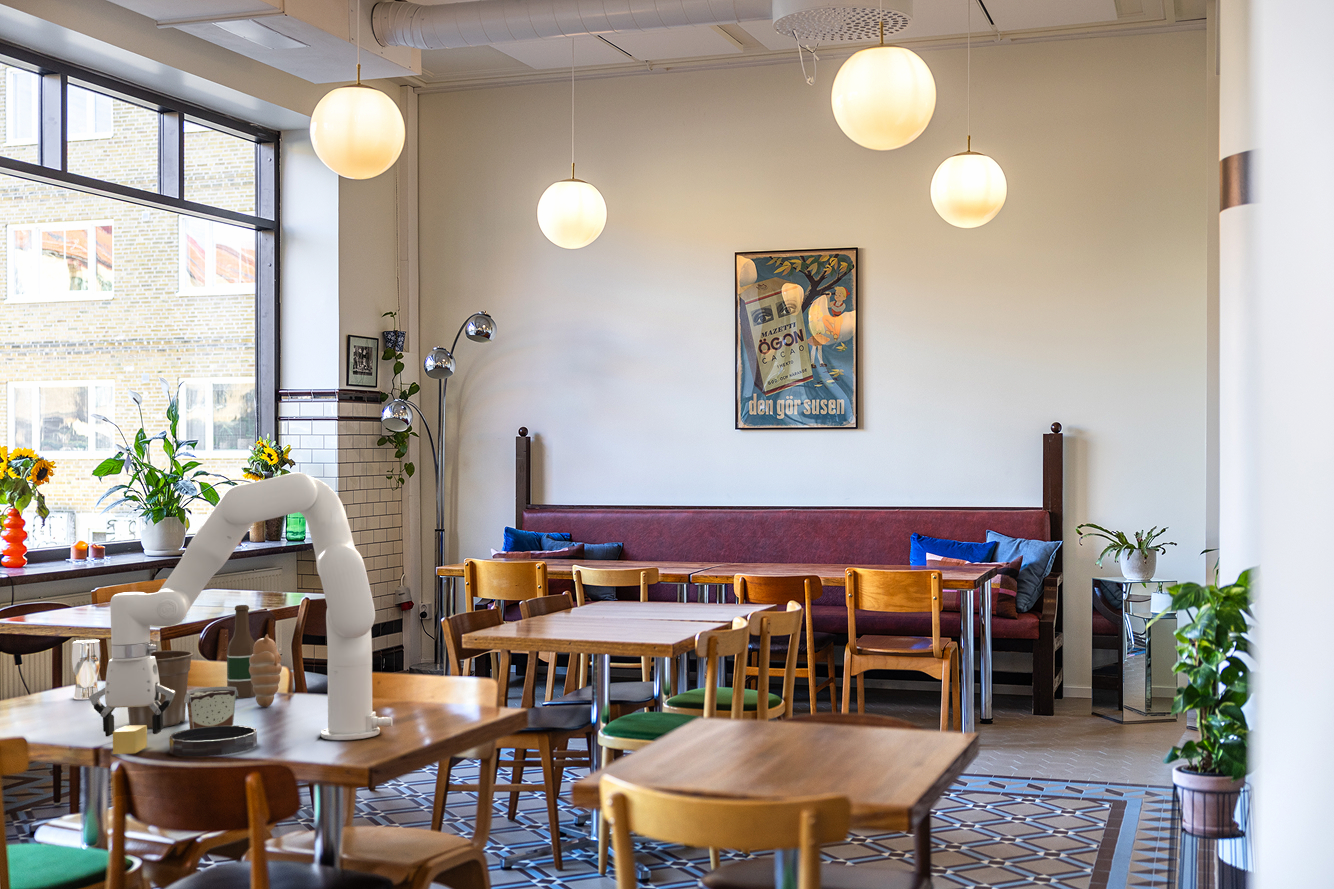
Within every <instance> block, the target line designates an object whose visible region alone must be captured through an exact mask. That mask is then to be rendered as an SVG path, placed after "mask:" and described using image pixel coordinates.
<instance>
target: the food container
mask: <svg viewBox="0 0 1334 889" xmlns="http://www.w3.org/2000/svg"><path fill="white" fill-rule="evenodd" d="M236 696H238V691H237V690H236V687H227V686H208V687H200V688H194V689H189V690H187V693H186V695H185V699H184V703H186V707H187V716H188V726H189V729H193V728H201V727H210V726H231V725H233V726H234V720H235V710H236V699H237V698H236Z"/></svg>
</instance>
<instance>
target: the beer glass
mask: <svg viewBox="0 0 1334 889" xmlns="http://www.w3.org/2000/svg"><path fill="white" fill-rule="evenodd" d="M100 642H101V641H100V640H99V639H85V640H76V641H73V642H72V649H71V651H72V652H71V664H72V670H73V676H74V682H75V688H74V689H75V690H74V695H73V699H74V700H77V701H84V700H85V701H86V700H89V697H90V696H91V695H93V694H94V693H96V692H98V691H99V686H98V679H99V673H100V668H101V662H102V661H101V660H102V658H101V657H102V656H101V643H100Z"/></svg>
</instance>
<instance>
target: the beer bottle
mask: <svg viewBox="0 0 1334 889" xmlns="http://www.w3.org/2000/svg"><path fill="white" fill-rule="evenodd" d="M249 610H250V607H249V605H247V604H238V605H235V606H234V611H235V615H234V616H235V618H234V632H233V636H232V638H231V640H230V641H229V642H228V645H227V648H226V649H227V651H226V687H236V690H237V691H238V696H236V699H246V698H247V699H248V698H249V699H250V698H253V697H256V694H255V693H254V692H253V685H252V683H251V675H250V673H249V667H250V663H249V659H250V656H251V655H252V654H253V647H254V644H255V642H256V641H255V640H254V638H253V637H252V636H251V631H250V618H249Z"/></svg>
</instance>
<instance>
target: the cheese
mask: <svg viewBox="0 0 1334 889" xmlns="http://www.w3.org/2000/svg"><path fill="white" fill-rule="evenodd" d="M147 747H148V728H147V725H124V726H122V727H120V728H117V729H115V730H114V732H113V734H112V755H126V754H127V755H129V754H130V755H131V754H136V753H137V754H138V753H139V752H140V751H142V750H143V749H145V748H147Z"/></svg>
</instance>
